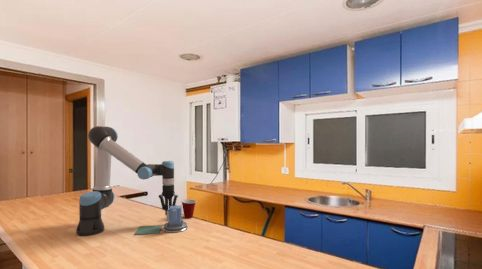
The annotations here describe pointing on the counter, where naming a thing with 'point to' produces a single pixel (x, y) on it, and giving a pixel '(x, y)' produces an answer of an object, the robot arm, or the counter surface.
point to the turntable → (175, 226)
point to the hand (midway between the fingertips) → (168, 220)
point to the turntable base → (175, 231)
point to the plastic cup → (188, 207)
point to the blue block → (175, 215)
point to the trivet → (148, 230)
